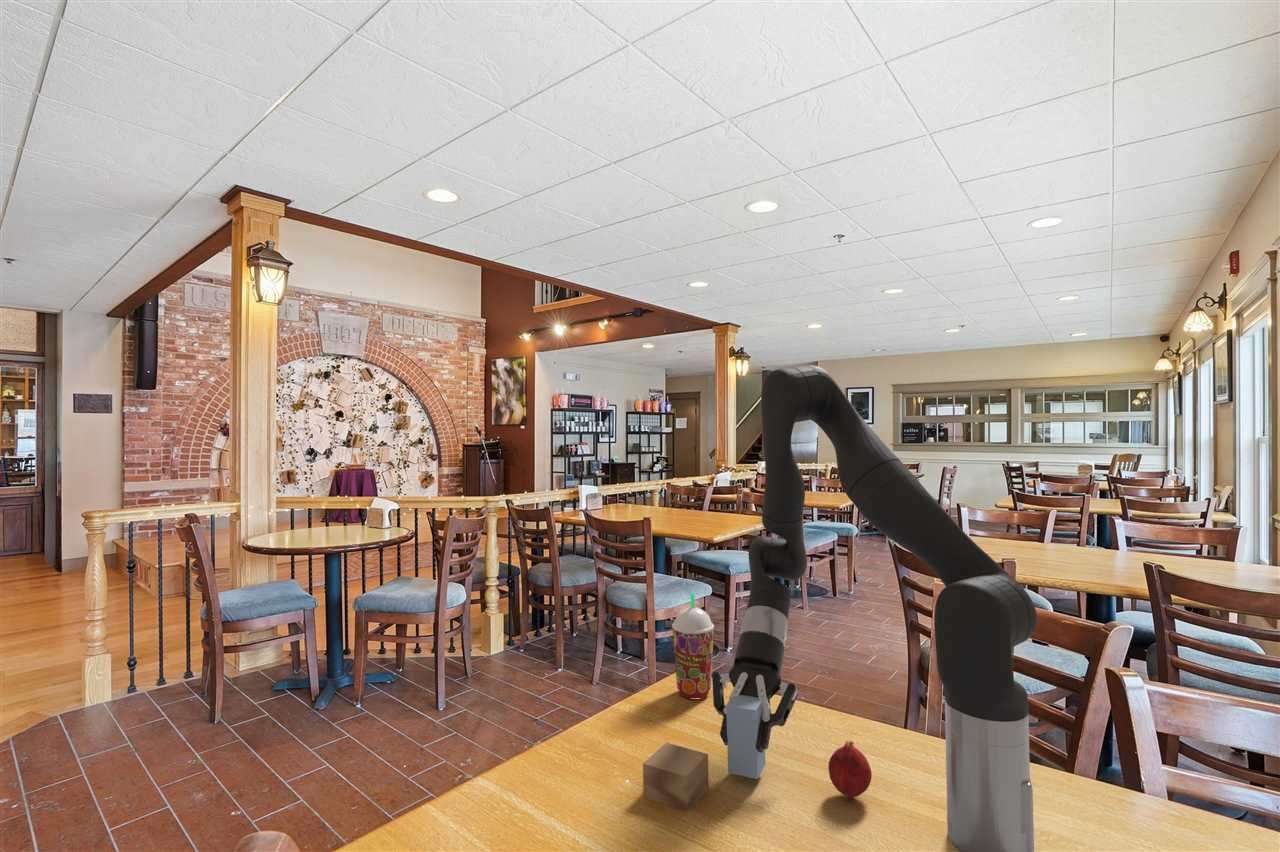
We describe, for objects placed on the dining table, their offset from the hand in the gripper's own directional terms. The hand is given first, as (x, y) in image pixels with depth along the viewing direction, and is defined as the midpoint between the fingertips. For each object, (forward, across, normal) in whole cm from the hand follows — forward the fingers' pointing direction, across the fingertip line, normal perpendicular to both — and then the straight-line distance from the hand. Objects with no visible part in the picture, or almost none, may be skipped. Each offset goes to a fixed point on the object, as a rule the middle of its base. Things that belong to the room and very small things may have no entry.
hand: (742, 746), depth 92 cm
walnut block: (+8, -8, 0) cm, 12 cm away
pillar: (+2, 0, +4) cm, 5 cm away
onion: (+2, +15, +6) cm, 16 cm away
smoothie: (-15, -18, +23) cm, 33 cm away
